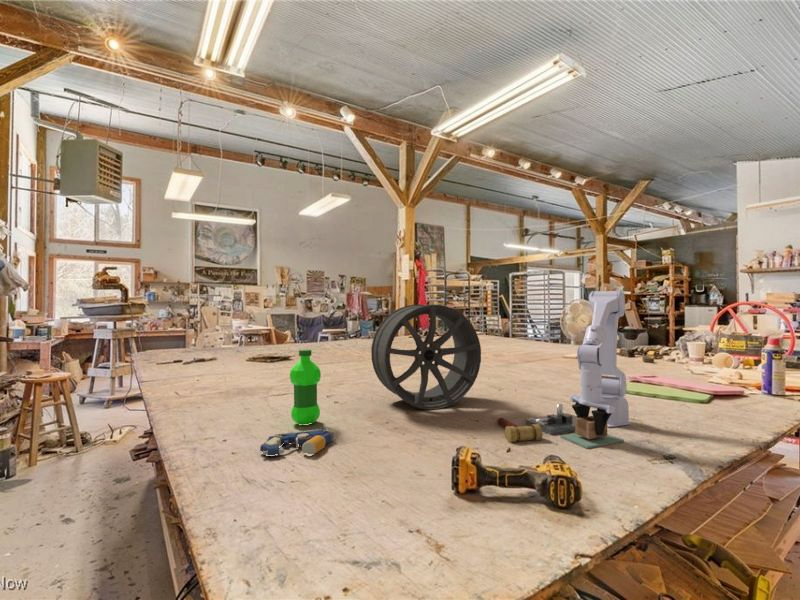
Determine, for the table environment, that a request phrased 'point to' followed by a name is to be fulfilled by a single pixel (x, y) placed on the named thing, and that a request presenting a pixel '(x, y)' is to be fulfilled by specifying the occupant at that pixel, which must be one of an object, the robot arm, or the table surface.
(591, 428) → the sleeve block
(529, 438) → the gavel
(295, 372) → the plastic bottle
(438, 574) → the table surface
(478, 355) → the car wheel rim
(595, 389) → the robot arm
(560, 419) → the vise
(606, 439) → the mat
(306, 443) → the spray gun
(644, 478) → the table surface
